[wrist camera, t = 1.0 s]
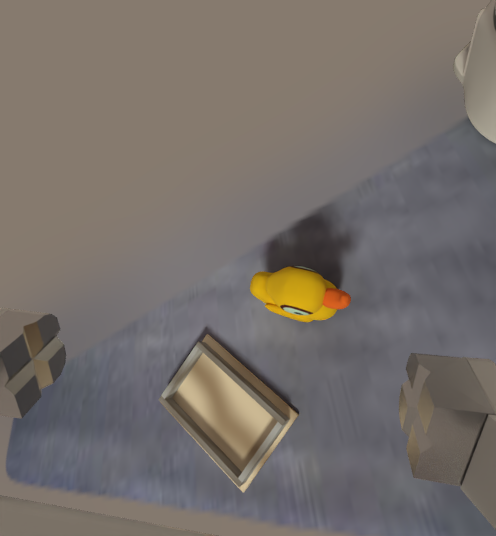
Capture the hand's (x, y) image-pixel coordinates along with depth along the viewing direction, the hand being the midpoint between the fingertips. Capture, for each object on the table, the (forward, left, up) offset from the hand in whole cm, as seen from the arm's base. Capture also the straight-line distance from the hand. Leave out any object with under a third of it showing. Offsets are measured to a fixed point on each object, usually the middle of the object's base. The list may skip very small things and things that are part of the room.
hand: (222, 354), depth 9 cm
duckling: (-1, -10, -35) cm, 36 cm away
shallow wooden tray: (+15, -11, -35) cm, 39 cm away
